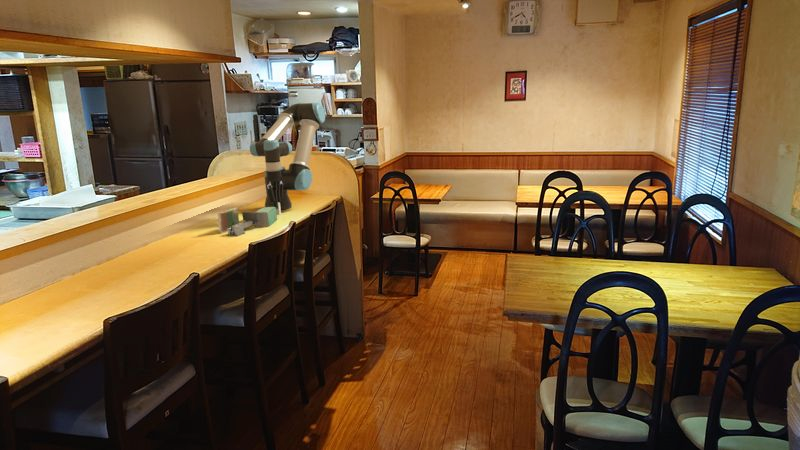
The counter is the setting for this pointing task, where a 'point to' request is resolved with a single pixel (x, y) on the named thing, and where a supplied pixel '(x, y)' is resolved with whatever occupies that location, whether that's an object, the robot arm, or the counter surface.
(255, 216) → the plunger
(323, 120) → the robot arm
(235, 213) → the gauge housing
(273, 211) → the box
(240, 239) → the counter surface
